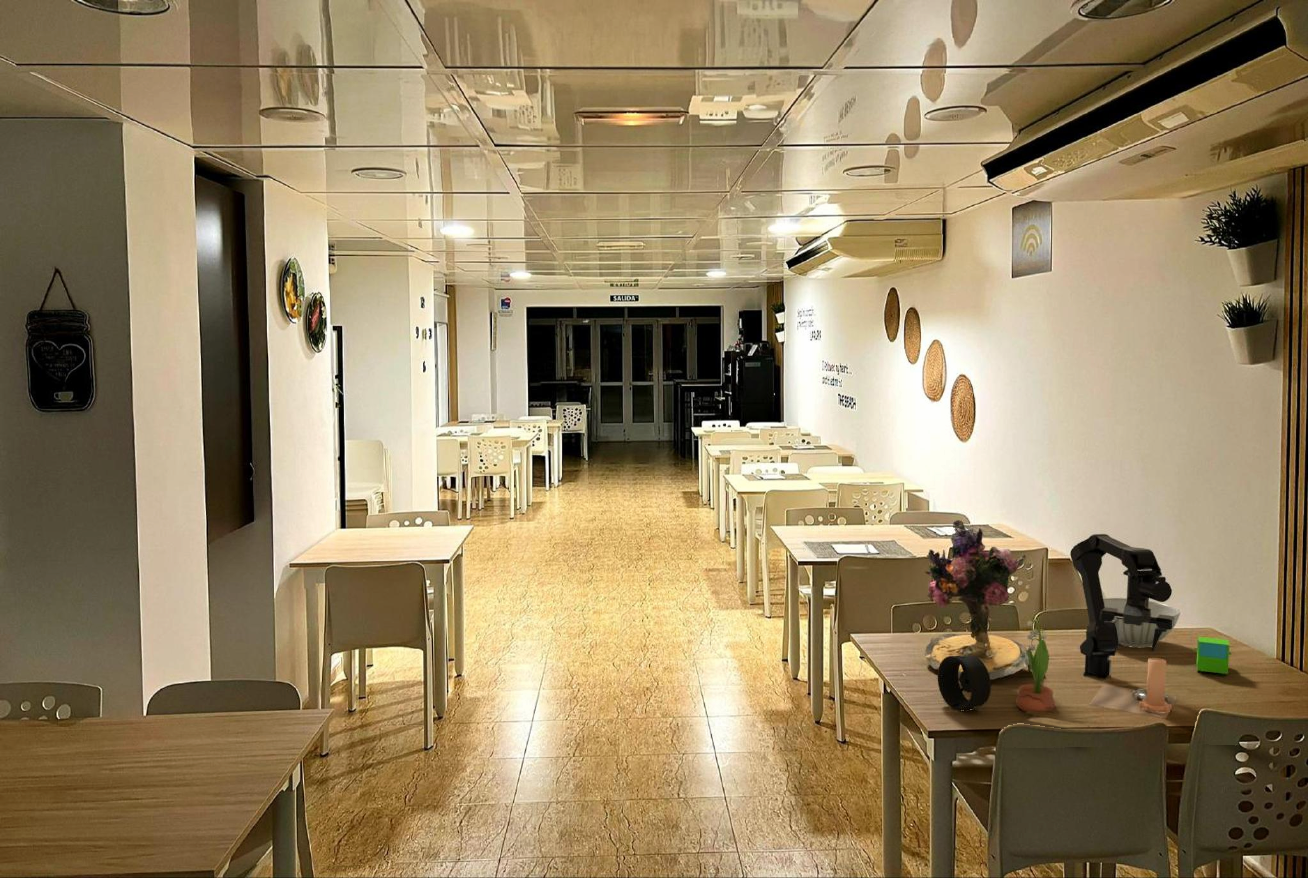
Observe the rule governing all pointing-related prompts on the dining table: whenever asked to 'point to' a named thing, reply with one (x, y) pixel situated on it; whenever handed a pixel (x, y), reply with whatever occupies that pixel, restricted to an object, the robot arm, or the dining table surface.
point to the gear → (1143, 695)
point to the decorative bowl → (1146, 631)
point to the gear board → (1125, 701)
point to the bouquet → (974, 602)
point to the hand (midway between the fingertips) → (1135, 648)
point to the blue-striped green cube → (1212, 655)
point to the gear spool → (1156, 687)
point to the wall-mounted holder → (964, 682)
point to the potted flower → (1036, 676)
